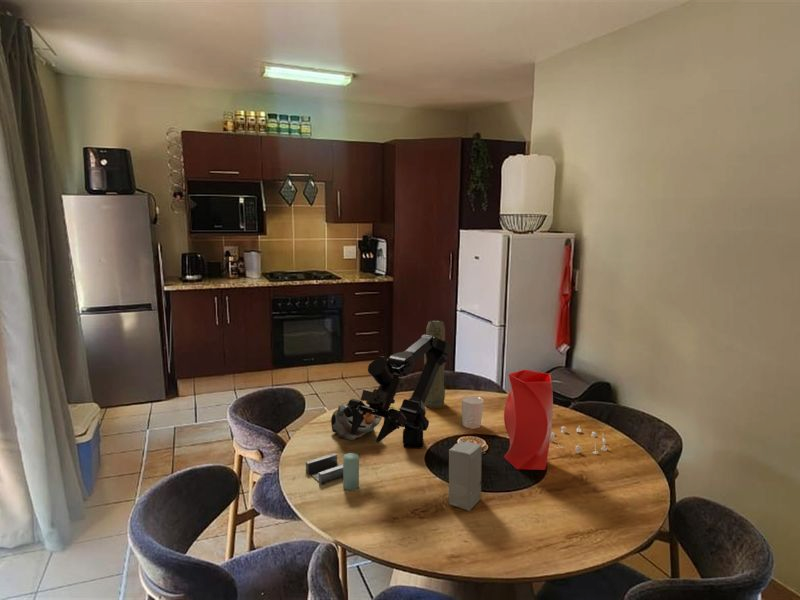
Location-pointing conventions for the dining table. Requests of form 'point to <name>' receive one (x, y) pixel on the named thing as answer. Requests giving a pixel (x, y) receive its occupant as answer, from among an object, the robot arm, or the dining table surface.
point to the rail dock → (325, 469)
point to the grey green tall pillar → (437, 388)
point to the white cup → (472, 411)
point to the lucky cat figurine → (343, 423)
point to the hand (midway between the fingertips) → (364, 438)
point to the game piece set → (578, 445)
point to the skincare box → (465, 474)
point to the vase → (529, 419)
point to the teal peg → (350, 471)
